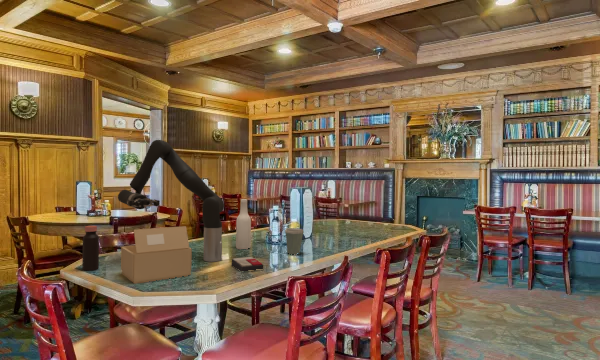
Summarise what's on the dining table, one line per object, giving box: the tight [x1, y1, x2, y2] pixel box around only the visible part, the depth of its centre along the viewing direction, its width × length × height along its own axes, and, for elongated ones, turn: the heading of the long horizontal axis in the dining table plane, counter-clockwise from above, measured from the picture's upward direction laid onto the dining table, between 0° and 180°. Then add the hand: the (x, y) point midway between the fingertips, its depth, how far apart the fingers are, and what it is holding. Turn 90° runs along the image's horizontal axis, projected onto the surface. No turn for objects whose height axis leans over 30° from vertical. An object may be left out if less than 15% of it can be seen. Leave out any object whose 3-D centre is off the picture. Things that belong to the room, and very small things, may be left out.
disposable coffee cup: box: [284, 227, 304, 255], centre depth 231 cm, size 11×11×15 cm
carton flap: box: [133, 225, 190, 253], centre depth 174 cm, size 22×10×1 cm
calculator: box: [231, 256, 264, 272], centre depth 196 cm, size 11×4×15 cm
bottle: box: [81, 225, 100, 272], centre depth 188 cm, size 7×7×20 cm
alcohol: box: [235, 198, 252, 250], centre depth 246 cm, size 9×9×30 cm
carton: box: [120, 245, 193, 285], centre depth 180 cm, size 25×20×12 cm
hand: (148, 204), depth 191 cm, fingers open, 8 cm apart
